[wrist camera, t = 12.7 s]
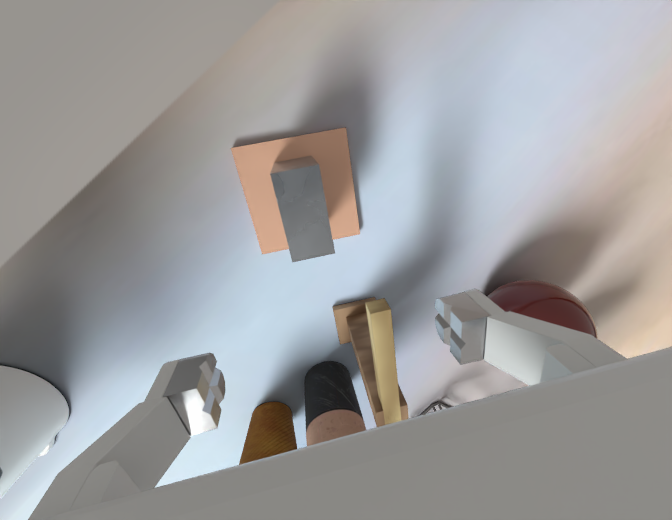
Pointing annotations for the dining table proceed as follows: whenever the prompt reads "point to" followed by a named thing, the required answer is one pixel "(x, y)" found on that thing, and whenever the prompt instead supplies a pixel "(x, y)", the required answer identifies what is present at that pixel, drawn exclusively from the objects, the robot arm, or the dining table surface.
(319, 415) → the travel mug
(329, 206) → the tile
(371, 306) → the stand
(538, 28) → the dining table surface
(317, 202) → the brushed grey metal block
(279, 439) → the disposable coffee cup
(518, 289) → the round-bottom flask
